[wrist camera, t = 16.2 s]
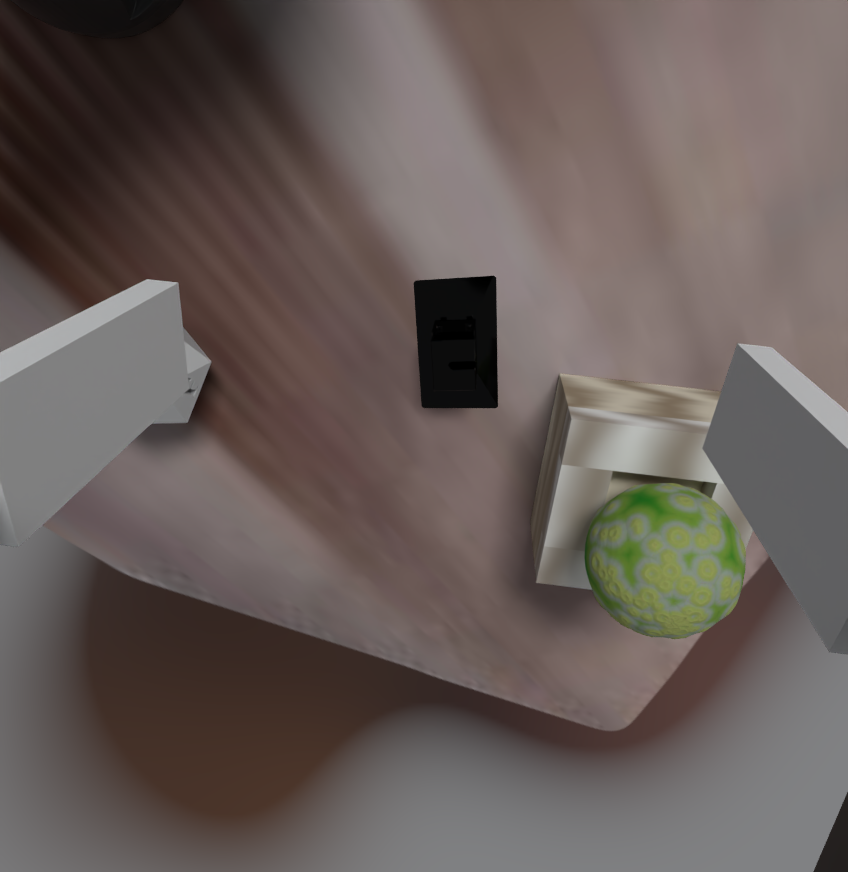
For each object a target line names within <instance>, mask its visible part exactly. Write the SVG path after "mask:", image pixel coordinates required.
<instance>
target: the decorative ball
mask: <svg viewBox="0 0 848 872" xmlns="http://www.w3.org/2000/svg"><path fill="white" fill-rule="evenodd" d="M584 558H585V568H586V572H587V576H588V579H589V583H590V585H591V588H592V591H593V593H594V596H595V598H596V600H597V601H598V603H599V604H600V605H601V607H603V608H604V609H605V610H606V611H607V612H608V613H609V614H610V616H611V617H613V618H614V619H615V620H616V621H618V622H619V623H620V624H622V625H623V626H625V627H627V628H630V629H632V630H634V631H635V632H637V633H640V634H643V635H646V636H650V637H665V638H671V639H680V638H686V637H688V636H691V635H693V634H696V633H700V632H704V631H706V630H708V629H709V628H710V627H711V626H713V625H714V624H715V623H717V622H718V621H719V620H721V619H722V618H724V617H725V616H727V615H728V614H729V613H730V612H731V611H732V609H733V608H734V607H735V606H736V604H737V601H738V598H739V595H740V592H741V588H742V585H743V579H744V573H745V559H746V551H745V546H744V543H743V541H742V539H741V534H740V532H739V530H738V528H737V526H736V524H735V523H734V522H733V521H732V520H731V519H730V518H729V517H728V515H727V514H726V512H725V511H724V510H723V508H721V507H720V506H719V505H718V504H717V503H716V502H715V501H714V500H712V499H711V498H710V497H708V496H706V495H705V494H703V493H701V492H699V491H697V490H695V489H693V488H689V487H684V486H682V485H679V484H675V483H659V484H643V485H635V486H633V487H631V488H629V489H627V490H626V491H624V492H622V493H620V494H619V495H617V496H616V497H614V498H613V499H611V500H610V501H609V502H607V503H606V504H605V505H603V506H602V507H601V508H600V509H598V511H597V513H596V515H595V516H594V518H593V519H592V521H591V524H590V527H589V530H588V534H587V538H586V543H585V556H584Z"/></svg>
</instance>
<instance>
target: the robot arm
mask: <svg viewBox="0 0 848 872" xmlns="http://www.w3.org/2000/svg"><path fill="white" fill-rule="evenodd" d="M11 1H12V2H14V3H15V4H16V5H18V6H19V7H20V8H21V9H23V10H24V11H26V12H27V13H29V14H31V15H32V16H34V17H36V18H37V19H39V20H42V21H44V22H46V23H48V24H50V25H52V26H54V27H57V28H59V29H62V30H65V31H69V32H73V33H77V34H82V35H88V36H93V37H100V38H123V37H129V36H133V35H137V34H140V33H143V32H145V31H147V30H149V29H151V28H153V27H155V26H156V25H158V24H159V23H161V22H162V21H164V20H165V19H166V18H167V17H168V16H169V15H171V14H172V13H173V12H174V10H175V9H176V8H177V7H178V6H179V5H180V3H181V2H182V1H183V0H11ZM188 389H189V383H188V373H187V363H186V353H185V344H184V334H183V324H182V314H181V304H180V295H179V285H178V283H176V282H167V281H158V280H149V279H147V280H145V281H143V282H141V283H139V284H137V285H135V286H133V287H131V288H129V289H127V290H125V291H123V292H121V293H119V294H117V295H115V296H112V297H110V298H108V299H106V300H104V301H102V302H100V303H98V304H96V305H94V306H92V307H90V308H88V309H86V310H84V311H82V312H80V313H78V314H76V315H74V316H72V317H70V318H68V319H66V320H64V321H62V322H60V323H58V324H56V325H54V326H52V327H50V328H48V329H46V330H44V331H42V332H40V333H38V334H36V335H34V336H32V337H30V338H28V339H26V340H24V341H22V342H20V343H18V344H16V345H14V346H12V347H10V348H8V349H6V350H4V351H2V352H0V545H5V546H13V547H19V546H21V544H23V543H24V542H25V541H26V540H27V539H28V538H29V537H30V536H31V535H32V534H33V533H34V532H36V531H37V530H38V529H39V528H40V527H41V526H42V525H43V524H44V523H45V522H46V521H47V520H48V519H50V518H51V517H52V516H53V515H54V514H55V513H56V512H57V511H58V510H59V509H60V508H61V507H62V506H63V505H65V504H66V503H67V502H68V501H69V500H70V499H71V498H72V497H73V496H74V495H75V494H76V493H77V492H79V491H80V490H81V489H82V488H83V487H84V486H85V485H86V484H87V483H88V482H89V481H90V480H91V479H93V478H94V477H95V476H96V475H97V474H98V473H99V472H100V471H101V470H102V469H103V468H104V467H105V466H106V465H108V464H109V463H110V462H111V461H112V460H113V459H114V458H115V457H116V456H117V455H118V454H119V453H120V452H122V451H123V450H124V449H125V448H126V447H127V446H128V445H129V444H130V443H131V442H132V441H133V440H134V439H135V438H137V437H138V436H139V435H140V434H141V433H142V432H143V431H144V430H145V429H146V428H147V427H148V426H149V425H151V424H152V423H153V422H154V421H155V420H156V419H157V418H158V417H159V416H160V415H161V414H162V413H163V412H165V411H166V410H167V409H168V408H169V407H170V406H171V405H172V404H173V403H174V402H175V401H176V400H177V399H178V398H180V397H181V396H182V395H183V394H184V393H185V392H186V391H187V390H188ZM702 449H703V450H704V452H705V454H706V455H707V457H708V458H709V460H710V462H711V463H712V465H713V466H714V468H715V470H716V471H717V473H718V474H719V476H720V478H721V479H722V481H723V482H724V484H725V486H726V487H727V489H728V490H729V492H730V494H731V495H732V497H733V498H734V500H735V502H736V503H737V505H738V506H739V508H740V510H741V511H742V513H743V515H744V516H745V518H746V519H747V521H748V523H749V524H750V526H751V527H752V529H753V531H754V532H755V534H756V535H757V537H758V539H759V540H760V542H761V543H762V545H763V547H764V548H765V550H766V551H767V553H768V555H769V556H770V558H771V559H772V561H773V563H774V564H775V566H776V567H777V569H778V571H779V572H780V574H781V576H782V577H783V579H784V580H785V582H786V584H787V585H788V587H789V588H790V590H791V592H792V593H793V595H794V596H795V598H796V600H797V601H798V603H799V604H800V606H801V607H802V609H803V611H804V612H805V614H806V616H807V617H808V619H809V620H810V622H811V624H812V625H813V627H814V628H815V630H816V631H817V633H818V635H819V636H820V638H821V640H822V641H823V643H824V644H825V646H826V648H827V649H828V651H829V652H833V653H840V654H848V412H847V411H846V410H845V409H843V408H842V407H841V406H840V405H839V404H838V403H836V402H835V401H834V400H833V399H832V398H830V397H829V396H828V395H827V394H826V393H825V392H823V391H822V390H821V389H820V388H819V387H818V386H816V385H815V384H814V383H813V382H812V381H810V380H809V379H808V378H807V377H806V376H805V375H803V374H802V373H801V372H800V371H799V370H798V369H796V368H795V367H794V366H793V365H792V364H791V363H789V362H788V361H787V360H786V359H785V358H783V357H782V356H781V355H780V354H779V353H778V352H776V351H775V350H774V349H773V348H772V347H765V346H756V345H747V344H737V346H736V349H735V352H734V355H733V358H732V361H731V364H730V367H729V370H728V373H727V376H726V379H725V382H724V385H723V388H722V391H721V394H720V397H719V400H718V403H717V406H716V409H715V412H714V415H713V418H712V421H711V424H710V427H709V430H708V433H707V436H706V439H705V442H704V445H703V448H702ZM814 872H848V793H847V795H846V797H845V800H844V802H843V804H842V807H841V809H840V811H839V814H838V816H837V818H836V821H835V823H834V825H833V827H832V830H831V832H830V834H829V837H828V839H827V842H826V844H825V846H824V848H823V851H822V853H821V855H820V858H819V860H818V862H817V865H816V867H815V870H814Z"/></svg>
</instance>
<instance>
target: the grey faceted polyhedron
mask: <svg viewBox="0 0 848 872" xmlns="http://www.w3.org/2000/svg"><path fill="white" fill-rule="evenodd" d="M183 334H184V344H185V353H186V363H187V373H188V383H189V389H188V390H187V391H186V392H185V393H184V394H183V395H182V396H181V397H180V398H178V399H177V400H176V401H175V402H174V403H173V404H172V405H171V406H170V407H169V408H168V409H167V410H166V411H165V412H163V413H162V414H161V415H160V416H159V417H158V418H157V419H156V420H155V421H154V422H153V423H152V424H159V423H188V420H189V418H190V415H191V413H192V410H193V408H194V405H195V403H196V400H197V398H198V395H199V392H200V390H201V387H202V385H203V382H204V380H205V377H206V375H207V372H208V370H209V367H210V365H211V360H210V359H209V358H208V357H207V356H206V354H205V353H204V352H203V351H202V349H201V348H200V347H199V346H198V345H197V343H196V342H195V341H194V340H193V339H192V337H191V336H190V335H189V334H188V332H187V331H186V330H185V329H184V328H183Z"/></svg>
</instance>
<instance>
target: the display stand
mask: <svg viewBox="0 0 848 872" xmlns="http://www.w3.org/2000/svg"><path fill="white" fill-rule="evenodd" d="M720 394H721V392H720V391H711V390H702V389H693V388H684V387H675V386H666V385H657V384H649V383H640V382H631V381H622V380H613V379H604V378H595V377H586V376H577V375H568V374H559V379H558V384H557V389H556V395H555V400H554V405H553V410H552V415H551V420H550V425H549V430H548V435H547V440H546V445H545V450H544V455H543V460H542V465H541V470H540V475H539V480H538V485H537V490H536V495H535V500H534V505H533V510H532V515H531V520H530V525H531V535H532V546H533V556H534V566H535V577H536V583H542V584H550V585H557V586H565V587H573V588H581V589H589V590H592V588H591V585H590V583H589V579H588V576H587V572H586V568H585V558H584V556H585V543H586V538H587V534H588V530H589V527H590V524H591V521H592V519H593V518H594V516H595V515H596V513H597V511H598V509H600V508H601V507H602V506H603V505H605V504H606V503H607V502H609V501H610V500H611V499H613V498H614V497H616V496H617V495H619V494H620V493H622V492H624V491H626V490H627V489H629V488H631V487H633V486H635V485H643V484H659V483H675V484H679V485H682V486H684V487H689V488H693V489H695V490H697V491H699V492H701V493H703V494H705V495H706V496H708V497H710V498H711V499H712V500H714V501H715V502H716V503H717V504H718V505H719V506H720V507H721V508H723V510H724V511H725V512H726V514H727V515H728V517H729V518H730V519H731V520H732V521H733V522H734V523H735V524H736V526H737V528H738V530H739V532H740V534H741V539H742V541H743V543H744V546H745V549H746V547H747V544H748V542H749V539H750V537H751V534H752V532H753V529H752V527H751V526H750V524H749V523H748V521H747V519H746V518H745V516H744V515H743V513H742V511H741V510H740V508H739V506H738V505H737V503H736V502H735V500H734V498H733V497H732V495H731V494H730V492H729V490H728V489H727V487H726V486H725V484H724V482H723V481H722V479H721V478H720V476H719V474H718V473H717V471H716V470H715V468H714V466H713V465H712V463H711V462H710V460H709V458H708V457H707V455H706V454H705V452H704V450H703V449H702V448H703V445H704V442H705V439H706V436H707V433H708V430H709V427H710V424H711V421H712V418H713V415H714V412H715V409H716V406H717V403H718V400H719V397H720Z"/></svg>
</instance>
